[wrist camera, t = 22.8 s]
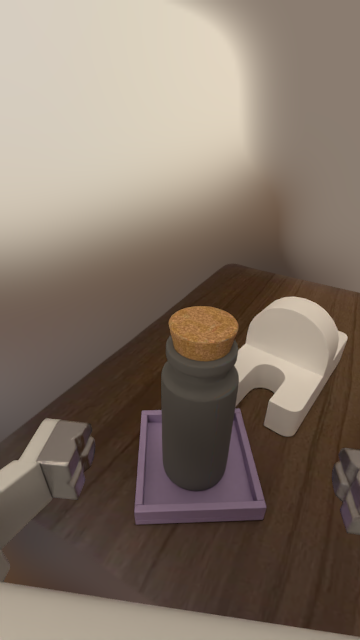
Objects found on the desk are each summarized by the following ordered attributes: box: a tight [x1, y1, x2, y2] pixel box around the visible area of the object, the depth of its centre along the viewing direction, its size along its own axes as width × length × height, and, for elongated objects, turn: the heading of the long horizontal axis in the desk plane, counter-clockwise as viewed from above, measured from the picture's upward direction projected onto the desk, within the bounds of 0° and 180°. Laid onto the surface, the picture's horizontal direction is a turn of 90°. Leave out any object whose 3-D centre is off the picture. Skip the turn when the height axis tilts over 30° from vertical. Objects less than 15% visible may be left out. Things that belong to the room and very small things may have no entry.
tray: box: [134, 409, 266, 524], centre depth 29 cm, size 10×10×2 cm
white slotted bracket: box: [234, 297, 348, 437], centre depth 38 cm, size 10×18×10 cm, turn 141°
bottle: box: [161, 306, 239, 491], centre depth 26 cm, size 6×6×15 cm
